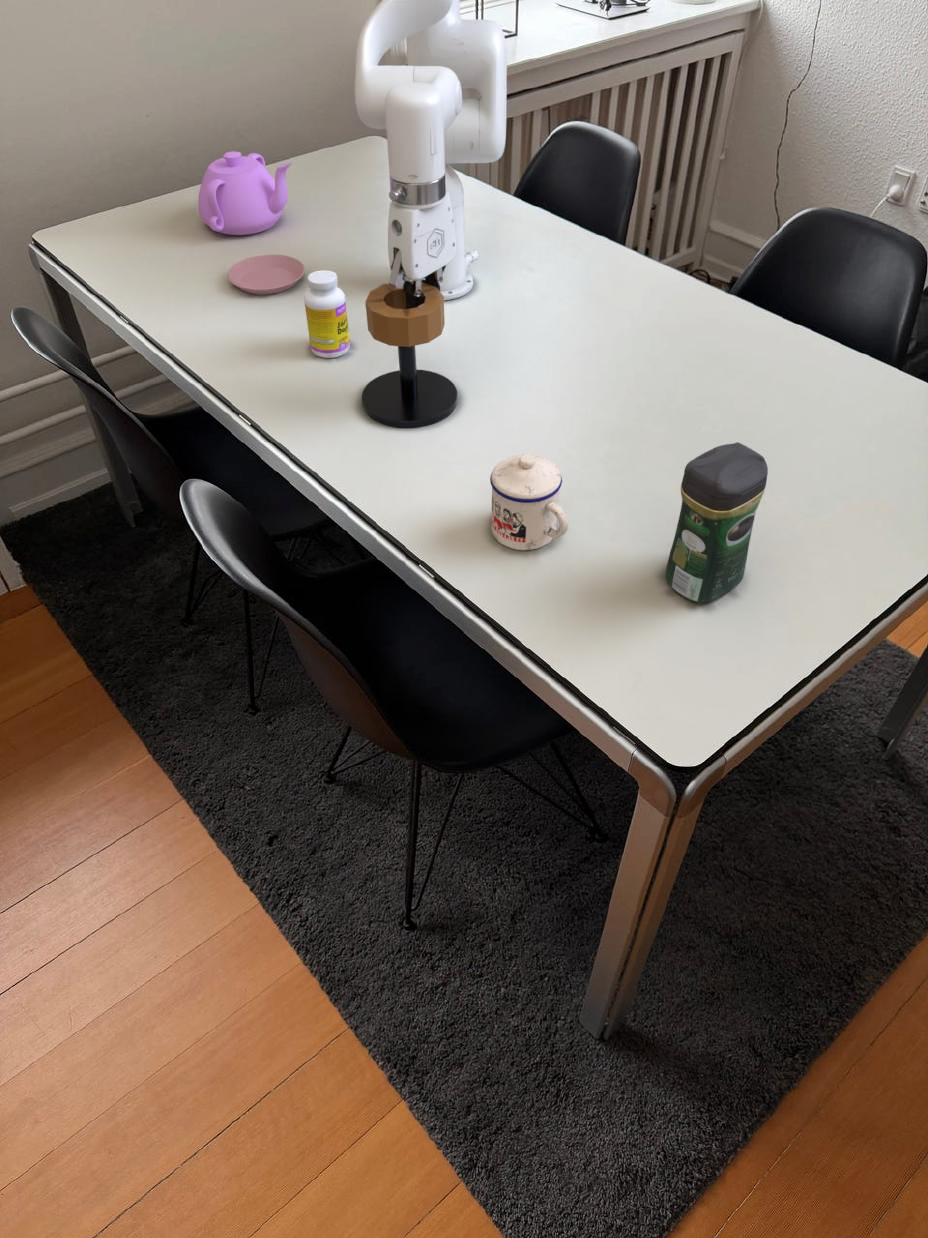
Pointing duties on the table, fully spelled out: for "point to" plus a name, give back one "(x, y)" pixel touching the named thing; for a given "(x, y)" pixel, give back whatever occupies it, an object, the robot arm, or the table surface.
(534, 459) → the teacup with lid
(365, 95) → the robot arm
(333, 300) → the supplement bottle
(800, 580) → the table surface
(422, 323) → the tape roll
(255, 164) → the teapot
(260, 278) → the plate
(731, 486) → the coffee jar
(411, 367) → the stand
